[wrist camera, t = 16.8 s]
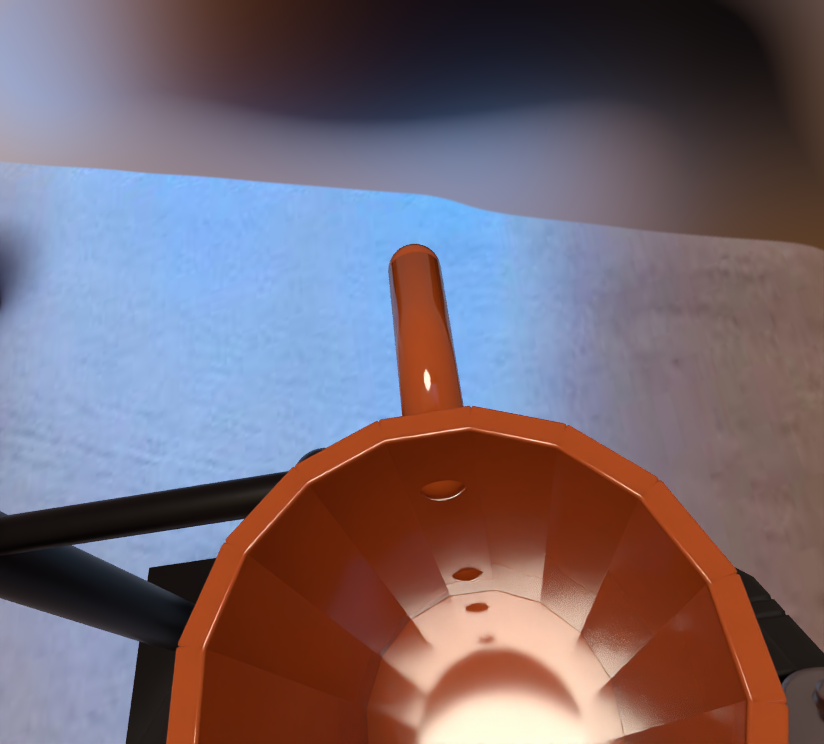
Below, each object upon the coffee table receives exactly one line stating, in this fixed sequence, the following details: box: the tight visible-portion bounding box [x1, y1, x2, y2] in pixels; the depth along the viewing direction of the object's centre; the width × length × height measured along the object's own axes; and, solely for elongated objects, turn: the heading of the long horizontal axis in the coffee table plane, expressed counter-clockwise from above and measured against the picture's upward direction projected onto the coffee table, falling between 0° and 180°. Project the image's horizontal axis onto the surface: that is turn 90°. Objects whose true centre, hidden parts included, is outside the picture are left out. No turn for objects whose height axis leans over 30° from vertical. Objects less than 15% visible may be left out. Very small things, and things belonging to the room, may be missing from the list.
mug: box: [166, 244, 789, 744], centre depth 13 cm, size 12×7×10 cm, turn 5°
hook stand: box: [0, 448, 326, 744], centre depth 23 cm, size 15×8×18 cm, turn 96°
